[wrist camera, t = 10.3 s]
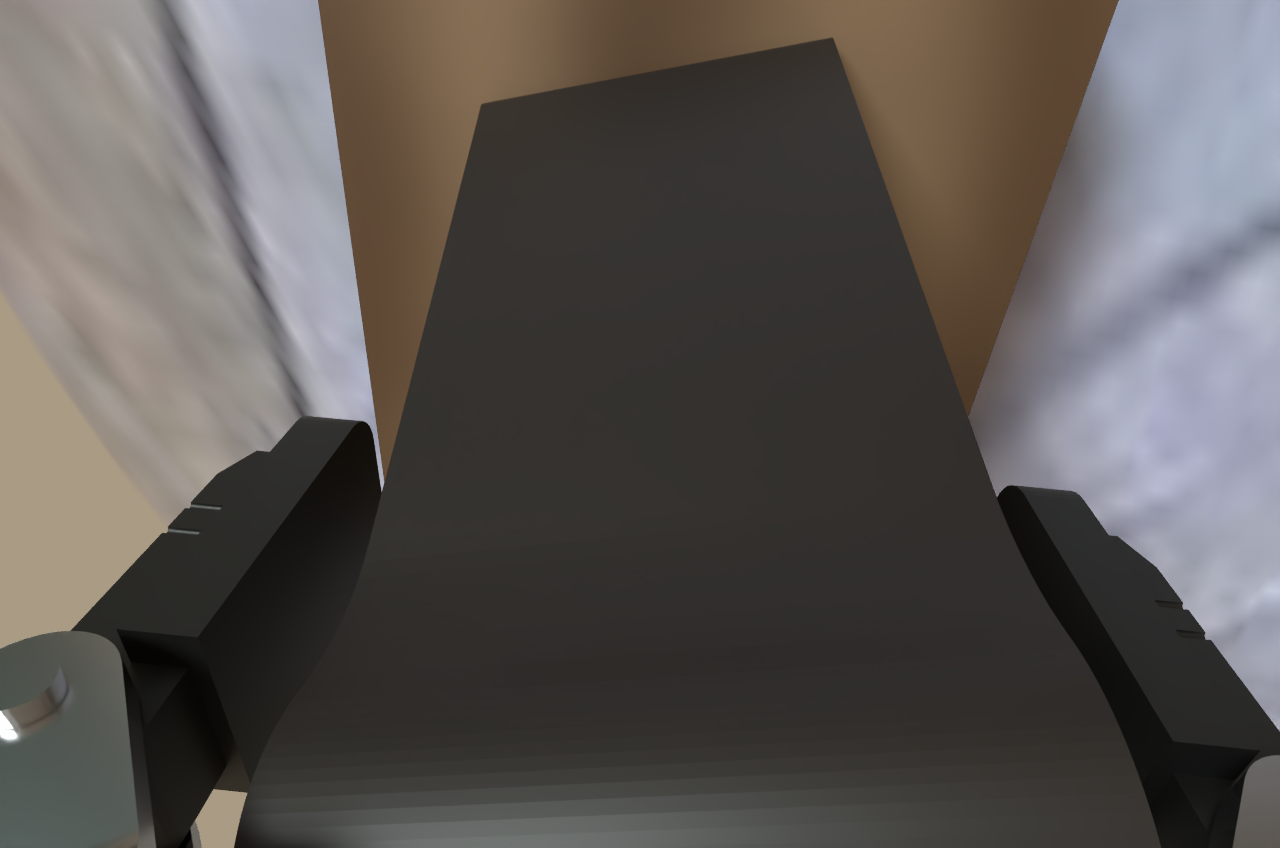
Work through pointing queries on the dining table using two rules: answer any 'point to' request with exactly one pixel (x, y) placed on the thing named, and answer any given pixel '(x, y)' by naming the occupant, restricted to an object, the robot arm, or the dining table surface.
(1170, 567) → the dining table surface
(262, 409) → the dining table surface
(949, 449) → the phone stand
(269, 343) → the dining table surface
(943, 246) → the walnut plinth
